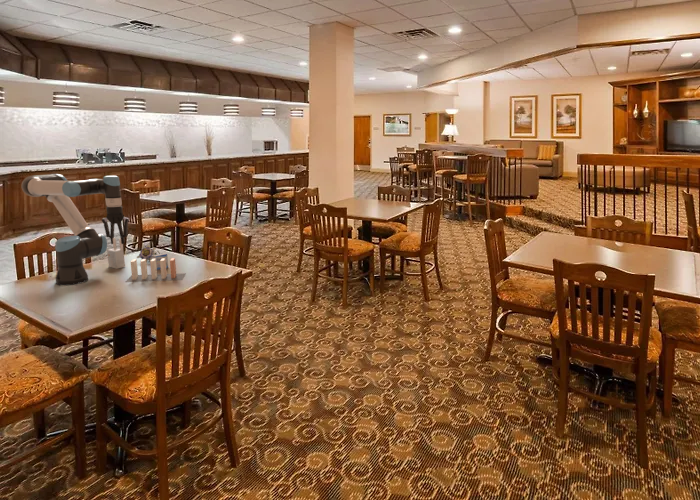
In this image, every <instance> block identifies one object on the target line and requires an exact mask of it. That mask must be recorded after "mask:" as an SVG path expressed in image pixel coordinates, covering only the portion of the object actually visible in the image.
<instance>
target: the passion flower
mask: <svg viewBox="0 0 700 500" xmlns="http://www.w3.org/2000/svg"><path fill="white" fill-rule="evenodd" d="M157 254H161V252H160V251H159V250H157V251H156V247H154V248H153V247H152V248H151V246H150V245H147V246H146V247H142V248H141V249H140V251H139V255H137V256H136V259H141V260H142V259H146V263H147V264H148V262H150V261H151V256H152V255H157Z"/></svg>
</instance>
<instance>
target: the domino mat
mask: <svg viewBox="0 0 700 500" xmlns="http://www.w3.org/2000/svg"><path fill="white" fill-rule="evenodd" d="M186 274H187V273H176V277H175V278H171V273H167V276H166V278H165V279H162V278H161V273H157V277H156V279H152V275H151V274H148V277H147V278H146V279H142V274H138V278H137V279H136V280H132V274H131V275H130V276H129V277H128V278H127V279H126V281H125V283H138V282H139V283H140V282H163V281H164V282H165V281H167V282H169V281H170V282H171V281H183V280H184V278H185V276H186Z"/></svg>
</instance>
